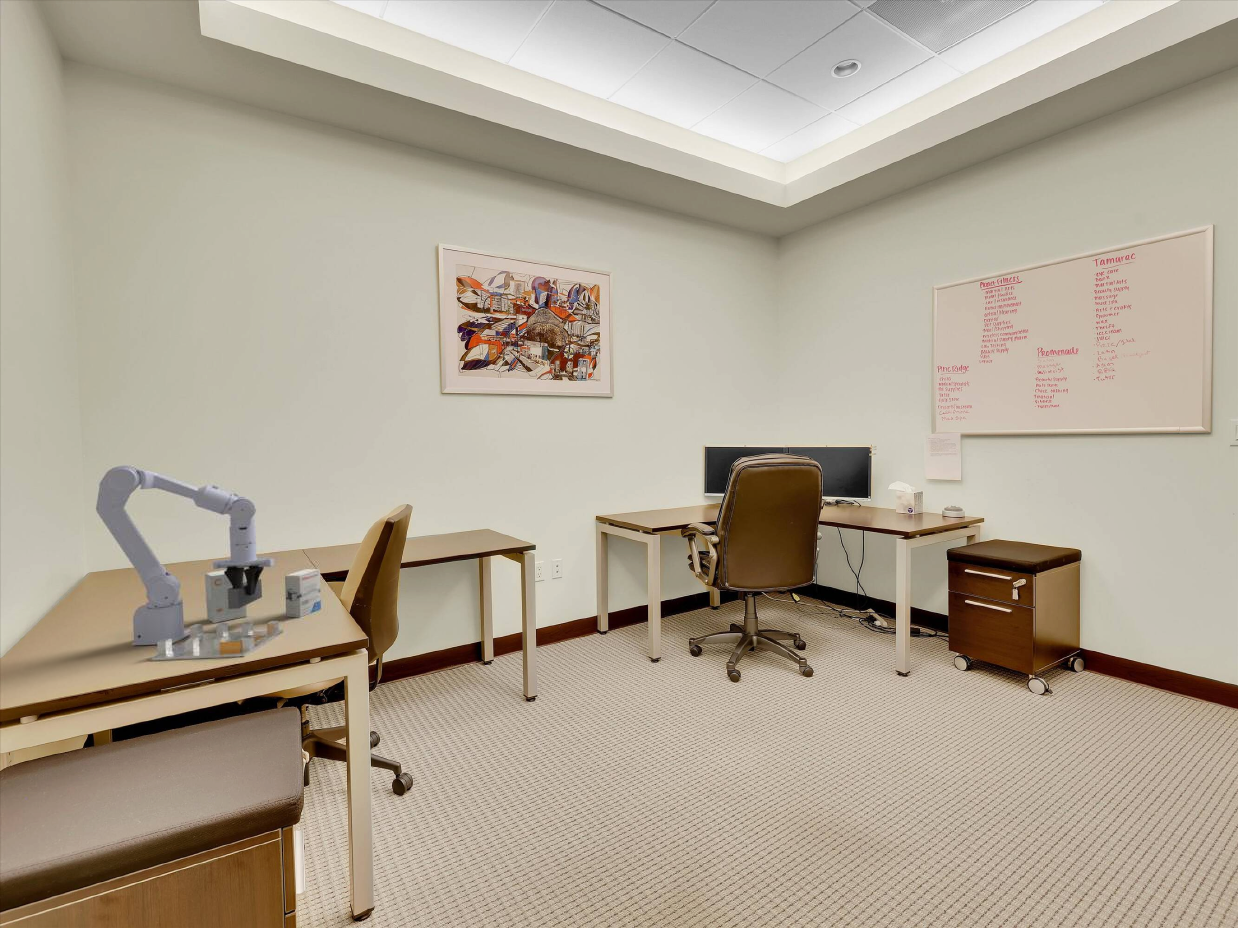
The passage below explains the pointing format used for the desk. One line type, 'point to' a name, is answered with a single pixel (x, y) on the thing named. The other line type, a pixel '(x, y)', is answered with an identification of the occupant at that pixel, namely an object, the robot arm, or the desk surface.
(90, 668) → the desk surface
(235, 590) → the panel
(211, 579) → the small box
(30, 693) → the desk surface
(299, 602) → the ink box
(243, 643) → the rack
